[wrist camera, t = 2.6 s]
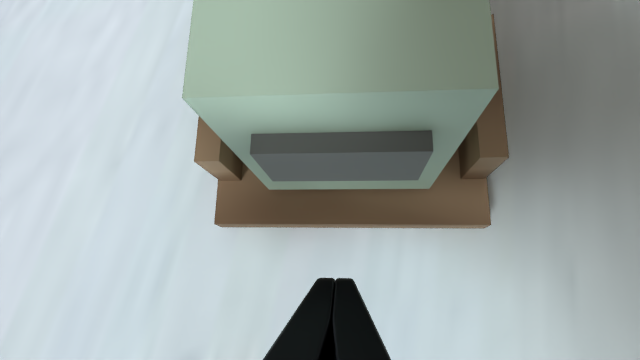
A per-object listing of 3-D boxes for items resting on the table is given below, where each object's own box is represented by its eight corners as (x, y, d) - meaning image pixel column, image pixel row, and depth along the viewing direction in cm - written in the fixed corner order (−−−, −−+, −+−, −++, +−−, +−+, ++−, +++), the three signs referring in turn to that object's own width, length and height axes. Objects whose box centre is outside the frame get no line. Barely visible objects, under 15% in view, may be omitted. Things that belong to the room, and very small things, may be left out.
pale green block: (430, 202, 17) (501, 114, 8) (268, 202, 18) (178, 122, 9) (425, 123, 18) (486, -30, 9) (272, 126, 19) (195, -12, 10)
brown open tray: (484, 228, 18) (529, 206, 13) (221, 227, 19) (174, 206, 14) (464, 5, 21) (495, -80, 16) (239, 16, 22) (204, -60, 17)
